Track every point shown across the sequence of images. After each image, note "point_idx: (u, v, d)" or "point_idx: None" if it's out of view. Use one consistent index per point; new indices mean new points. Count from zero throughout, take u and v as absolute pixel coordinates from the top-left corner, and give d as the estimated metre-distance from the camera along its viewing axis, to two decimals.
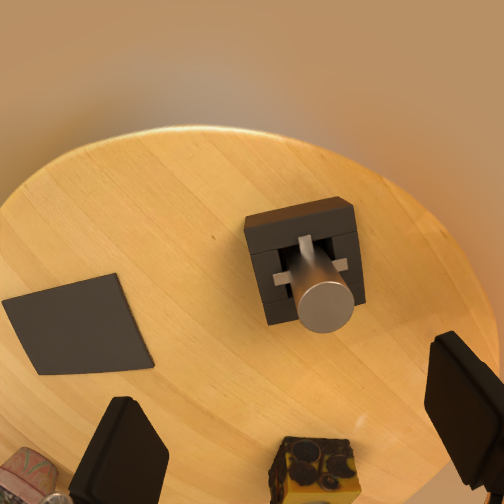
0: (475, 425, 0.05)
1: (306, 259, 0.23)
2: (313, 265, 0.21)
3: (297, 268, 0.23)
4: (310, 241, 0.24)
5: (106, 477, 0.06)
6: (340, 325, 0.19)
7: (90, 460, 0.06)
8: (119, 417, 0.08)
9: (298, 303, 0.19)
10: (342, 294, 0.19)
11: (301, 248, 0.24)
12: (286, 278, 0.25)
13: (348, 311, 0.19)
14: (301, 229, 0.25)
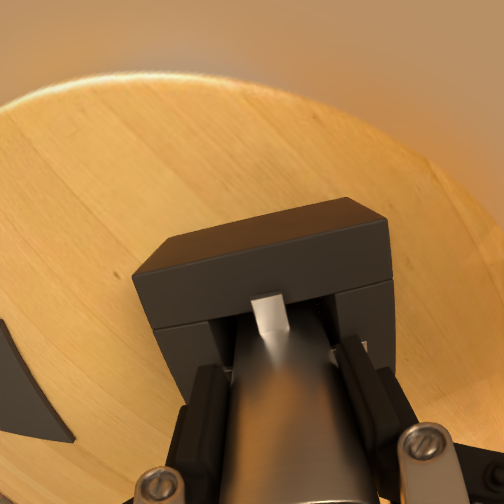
0: (360, 427, 0.07)
1: (266, 365, 0.09)
2: (278, 402, 0.07)
3: (241, 389, 0.08)
4: (282, 309, 0.10)
5: (212, 442, 0.07)
6: None
7: (193, 427, 0.07)
8: (212, 383, 0.09)
9: None
10: None
11: (260, 325, 0.10)
12: (229, 382, 0.11)
13: None
14: (262, 277, 0.10)
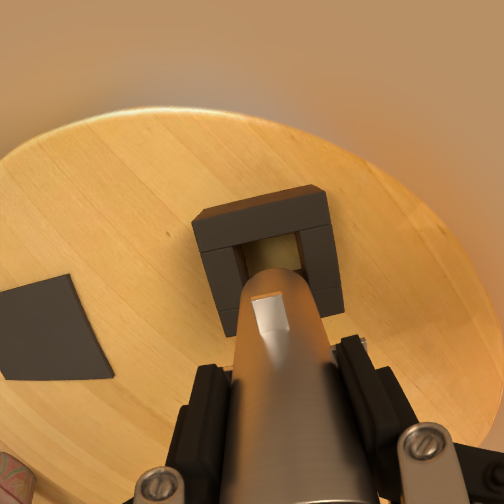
0: (360, 427, 0.07)
1: (266, 365, 0.09)
2: (278, 401, 0.07)
3: (241, 389, 0.08)
4: (282, 309, 0.10)
5: (212, 442, 0.07)
6: None
7: (193, 427, 0.07)
8: (212, 383, 0.09)
9: None
10: None
11: (260, 325, 0.10)
12: (229, 382, 0.11)
13: None
14: (261, 221, 0.20)
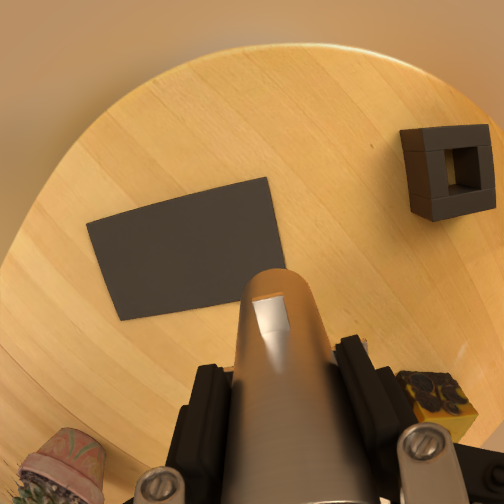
0: (359, 427, 0.07)
1: (267, 366, 0.09)
2: (280, 403, 0.07)
3: (242, 390, 0.08)
4: (283, 310, 0.10)
5: (212, 442, 0.07)
6: None
7: (194, 427, 0.07)
8: (212, 383, 0.09)
9: None
10: None
11: (261, 326, 0.10)
12: (230, 383, 0.11)
13: None
14: (459, 136, 0.24)
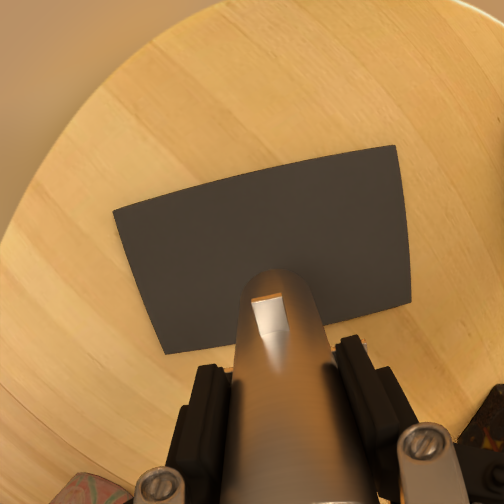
0: (359, 427, 0.07)
1: (266, 367, 0.09)
2: (279, 404, 0.07)
3: (241, 391, 0.08)
4: (282, 311, 0.10)
5: (212, 442, 0.07)
6: None
7: (193, 427, 0.07)
8: (212, 383, 0.09)
9: None
10: None
11: (260, 327, 0.10)
12: (229, 384, 0.11)
13: None
14: None
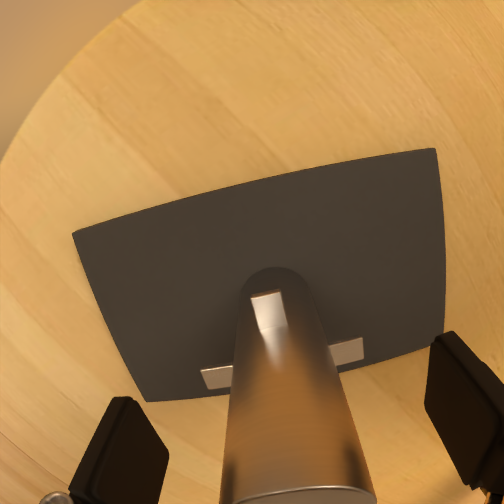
0: (475, 425, 0.05)
1: (265, 359, 0.09)
2: (277, 394, 0.07)
3: (241, 383, 0.09)
4: (280, 307, 0.10)
5: (106, 477, 0.06)
6: None
7: (90, 460, 0.06)
8: (119, 417, 0.08)
9: None
10: (347, 502, 0.05)
11: (259, 321, 0.10)
12: (229, 377, 0.11)
13: None
14: None
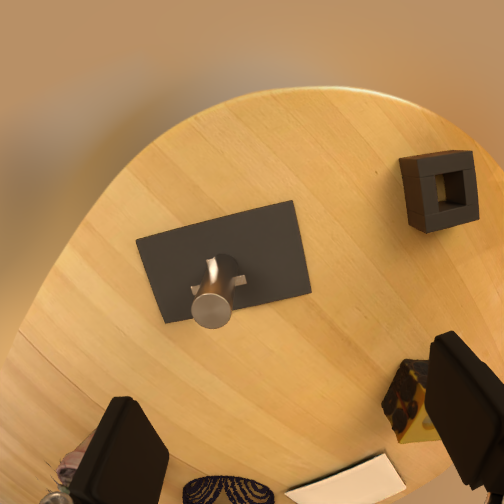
0: (475, 425, 0.05)
1: (208, 276, 0.32)
2: (209, 281, 0.30)
3: (201, 283, 0.32)
4: (215, 263, 0.33)
5: (106, 477, 0.06)
6: (223, 324, 0.28)
7: (90, 460, 0.06)
8: (119, 417, 0.08)
9: (191, 307, 0.28)
10: (220, 302, 0.28)
11: (209, 268, 0.34)
12: None
13: (226, 314, 0.28)
14: (447, 163, 0.31)
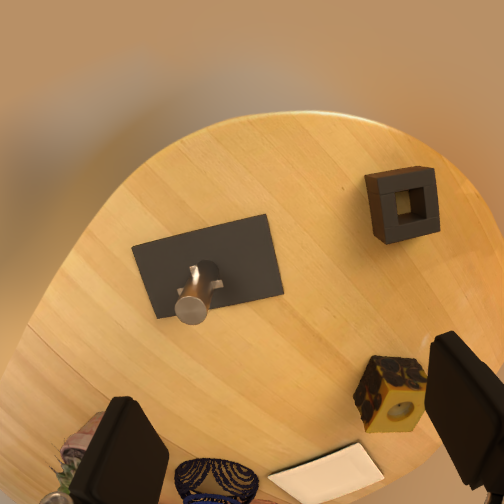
0: (475, 425, 0.05)
1: (190, 281, 0.38)
2: (190, 285, 0.36)
3: None
4: (197, 269, 0.39)
5: (106, 477, 0.06)
6: (200, 321, 0.35)
7: (90, 460, 0.06)
8: (119, 417, 0.08)
9: None
10: (198, 303, 0.34)
11: (192, 273, 0.40)
12: None
13: (203, 313, 0.34)
14: (408, 180, 0.37)
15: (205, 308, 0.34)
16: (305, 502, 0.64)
